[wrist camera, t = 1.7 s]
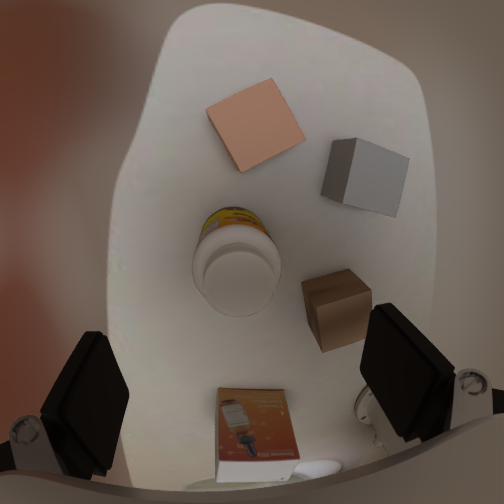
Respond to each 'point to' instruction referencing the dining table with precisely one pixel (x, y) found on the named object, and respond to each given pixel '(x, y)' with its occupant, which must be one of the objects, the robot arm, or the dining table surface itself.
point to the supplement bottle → (236, 263)
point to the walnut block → (337, 309)
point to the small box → (253, 436)
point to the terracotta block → (255, 124)
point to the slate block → (365, 176)
